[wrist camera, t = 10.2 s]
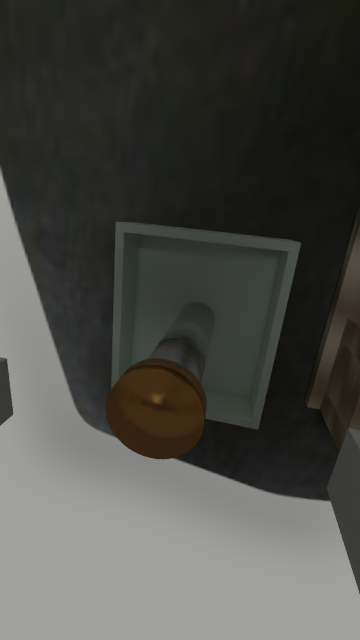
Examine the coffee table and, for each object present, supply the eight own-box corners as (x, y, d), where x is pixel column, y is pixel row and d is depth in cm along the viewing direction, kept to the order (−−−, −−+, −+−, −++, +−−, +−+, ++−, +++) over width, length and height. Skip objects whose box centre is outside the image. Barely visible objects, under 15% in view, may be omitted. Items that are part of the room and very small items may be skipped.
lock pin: (175, 292, 24) (106, 362, 11) (225, 300, 23) (210, 382, 11) (170, 338, 25) (104, 447, 12) (217, 346, 24) (197, 468, 12)
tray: (135, 222, 23) (115, 221, 20) (290, 239, 22) (301, 242, 18) (127, 376, 28) (110, 399, 24) (255, 401, 26) (258, 429, 22)
